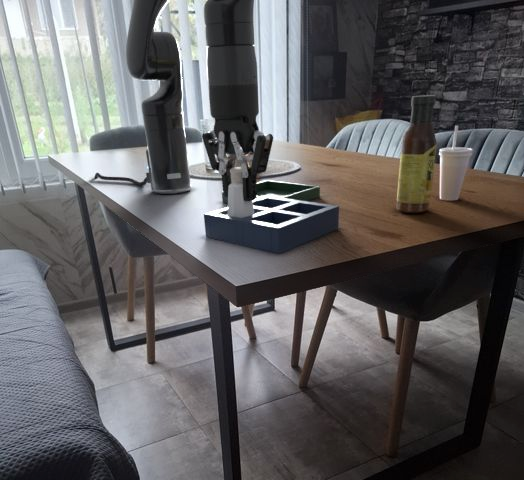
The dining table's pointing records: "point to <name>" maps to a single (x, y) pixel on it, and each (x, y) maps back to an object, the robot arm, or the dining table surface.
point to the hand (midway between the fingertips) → (239, 198)
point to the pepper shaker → (238, 196)
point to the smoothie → (453, 169)
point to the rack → (274, 224)
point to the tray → (285, 191)
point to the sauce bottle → (417, 158)
